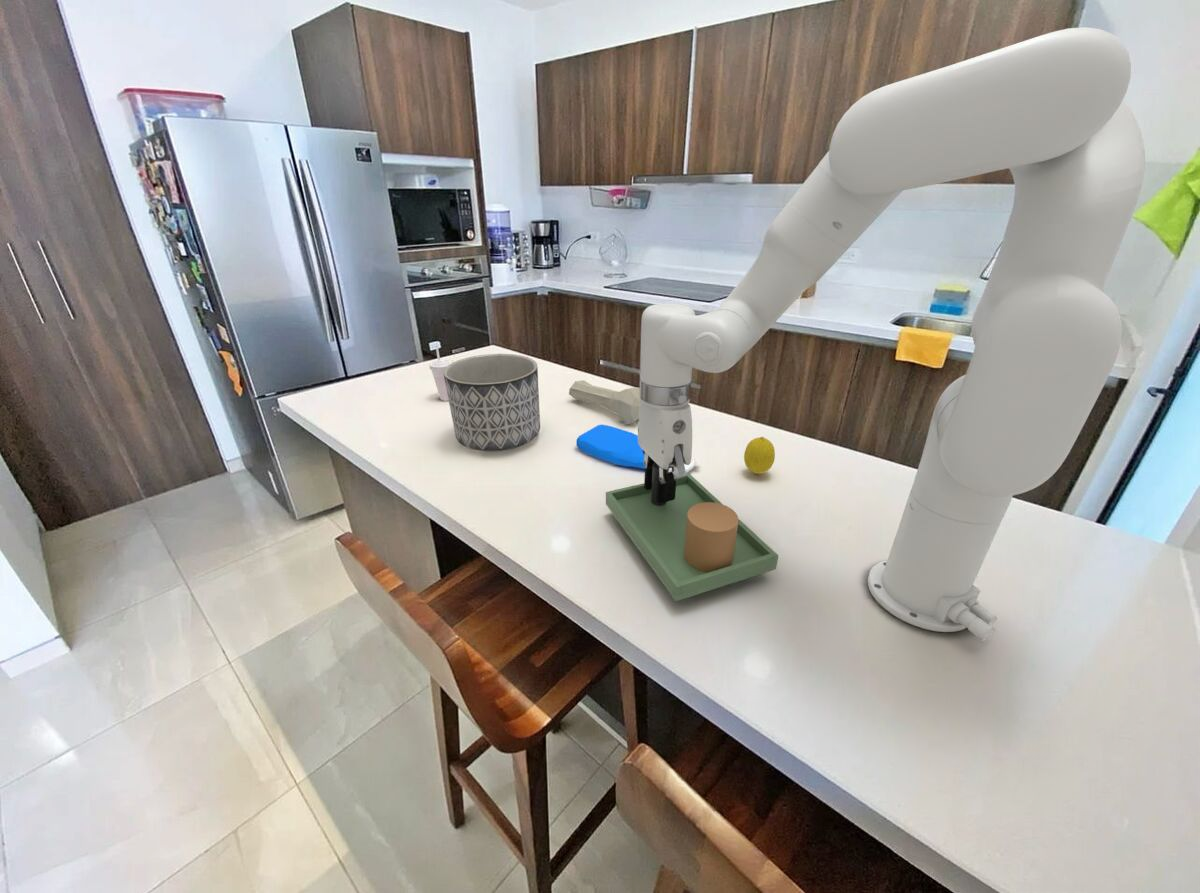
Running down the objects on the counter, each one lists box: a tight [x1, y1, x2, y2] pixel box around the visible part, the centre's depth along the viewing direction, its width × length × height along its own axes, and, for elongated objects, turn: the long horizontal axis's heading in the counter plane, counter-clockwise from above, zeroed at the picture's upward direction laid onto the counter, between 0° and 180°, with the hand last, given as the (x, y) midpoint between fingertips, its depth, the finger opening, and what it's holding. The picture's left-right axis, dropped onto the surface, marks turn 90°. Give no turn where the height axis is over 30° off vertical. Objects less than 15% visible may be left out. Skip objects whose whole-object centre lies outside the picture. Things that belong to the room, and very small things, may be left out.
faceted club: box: [568, 379, 640, 425], centre depth 123 cm, size 9×8×25 cm
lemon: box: [743, 436, 776, 475], centre depth 94 cm, size 6×6×8 cm
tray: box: [605, 462, 779, 602], centre depth 75 cm, size 24×16×8 cm, turn 22°
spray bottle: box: [575, 424, 698, 474], centre depth 102 cm, size 3×11×24 cm
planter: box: [443, 353, 541, 452], centre depth 107 cm, size 19×19×16 cm
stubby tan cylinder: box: [684, 502, 739, 573], centre depth 69 cm, size 7×7×7 cm
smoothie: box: [428, 346, 455, 402], centre depth 129 cm, size 6×6×14 cm
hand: (659, 493), depth 82 cm, fingers open, 3 cm apart
